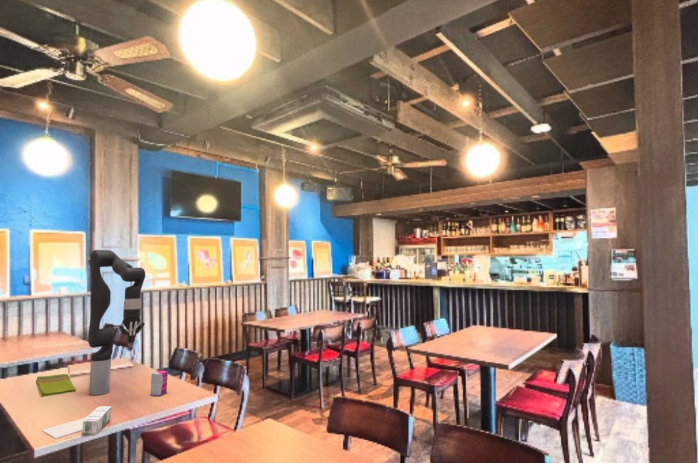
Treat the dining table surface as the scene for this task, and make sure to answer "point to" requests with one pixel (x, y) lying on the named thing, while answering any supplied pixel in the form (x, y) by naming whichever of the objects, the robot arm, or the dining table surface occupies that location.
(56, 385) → the dish towel
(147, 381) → the dining table surface
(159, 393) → the supplement box
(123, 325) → the robot arm
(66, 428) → the white rectangular panel
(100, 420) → the syrup box
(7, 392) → the dining table surface
